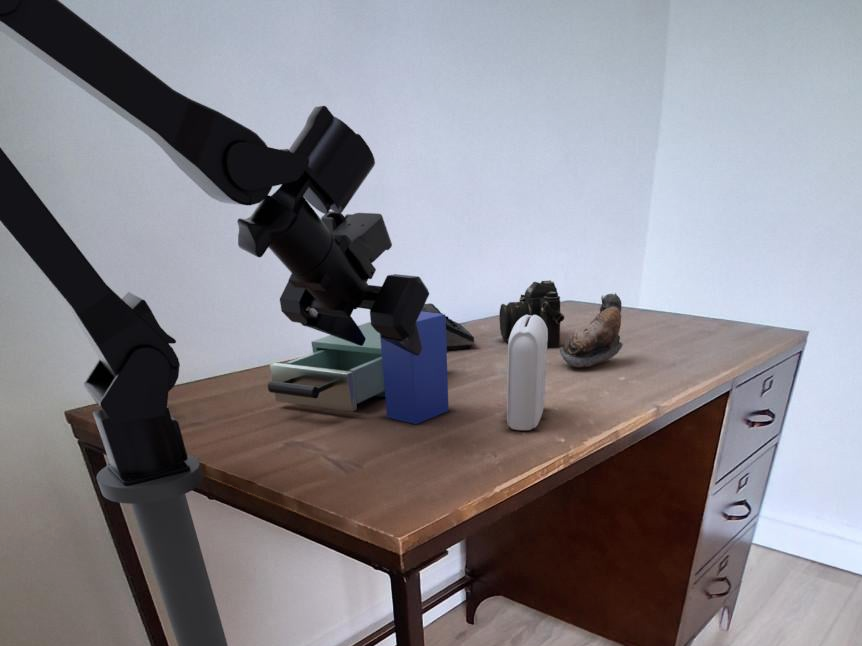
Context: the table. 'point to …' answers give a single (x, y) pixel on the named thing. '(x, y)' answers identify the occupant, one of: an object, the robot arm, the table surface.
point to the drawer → (328, 379)
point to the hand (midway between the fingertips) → (390, 347)
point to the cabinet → (352, 344)
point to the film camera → (535, 310)
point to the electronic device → (453, 331)
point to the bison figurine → (596, 336)
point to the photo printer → (526, 372)
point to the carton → (417, 373)
